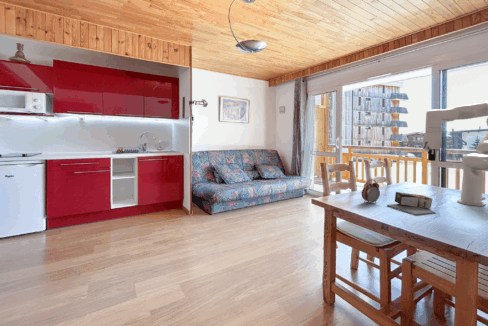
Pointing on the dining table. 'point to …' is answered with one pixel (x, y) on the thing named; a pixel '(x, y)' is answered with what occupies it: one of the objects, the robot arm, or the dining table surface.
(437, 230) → the dining table surface
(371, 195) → the alarm clock
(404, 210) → the mat
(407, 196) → the coffee box
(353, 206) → the dining table surface
